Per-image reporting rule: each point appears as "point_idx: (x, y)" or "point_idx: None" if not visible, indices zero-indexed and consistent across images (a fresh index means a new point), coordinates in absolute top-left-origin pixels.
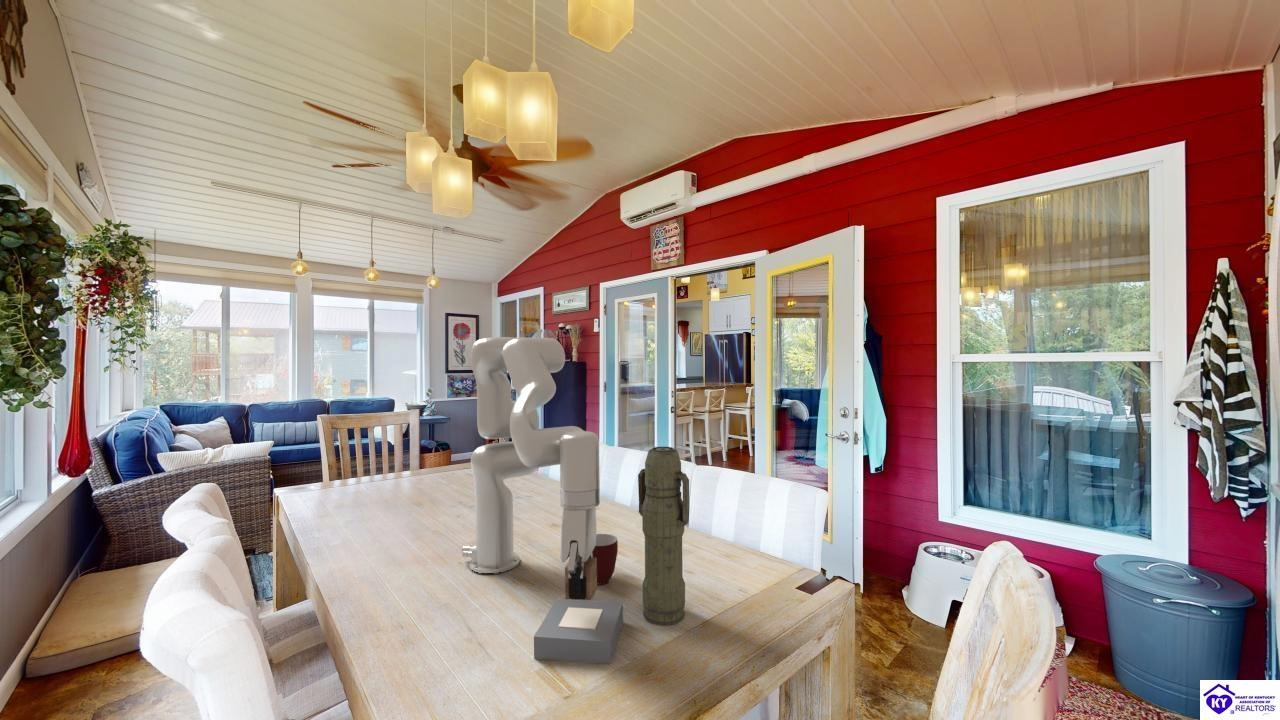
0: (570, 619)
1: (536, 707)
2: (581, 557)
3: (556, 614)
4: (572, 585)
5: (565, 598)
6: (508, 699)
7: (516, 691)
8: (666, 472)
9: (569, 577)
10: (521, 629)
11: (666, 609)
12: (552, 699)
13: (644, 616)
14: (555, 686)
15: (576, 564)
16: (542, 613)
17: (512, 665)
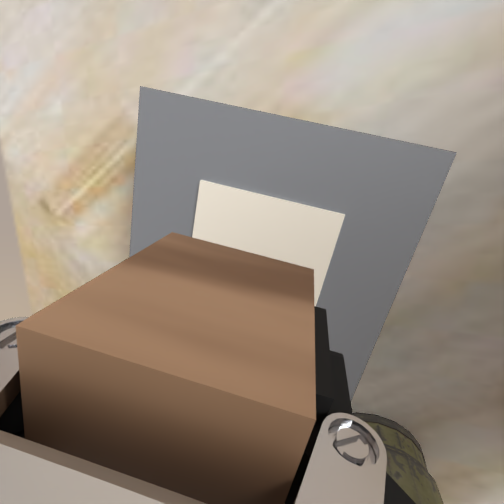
0: (244, 225)
1: (5, 138)
2: (271, 502)
3: (297, 164)
4: None
5: (169, 234)
6: (15, 56)
7: (43, 72)
8: None
9: (5, 327)
10: (365, 5)
11: None
12: (33, 173)
13: (355, 415)
14: (72, 177)
15: (92, 434)
16: (483, 81)
17: (144, 28)
